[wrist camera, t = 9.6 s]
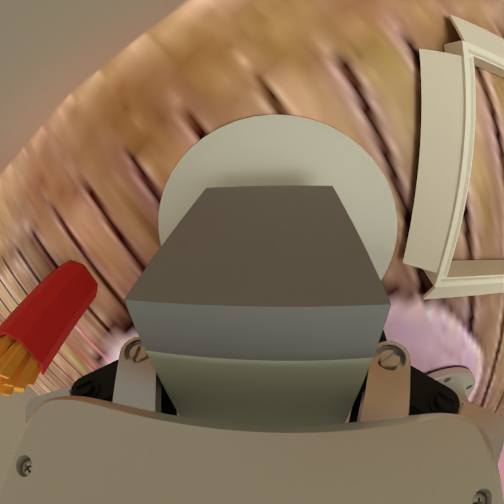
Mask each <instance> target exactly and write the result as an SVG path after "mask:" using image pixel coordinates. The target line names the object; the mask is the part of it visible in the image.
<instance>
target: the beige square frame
mask: <svg viewBox="0 0 504 504" xmlns="http://www.w3.org/2000/svg"><path fill="white" fill-rule="evenodd" d="M449 18H450V20H451V22H452V24H453V25H454V27H455V29H456V31H457V33H458V35H459V37H460V38H461V41H457V42H452V43H448V44H444V51H445V52H439V51H433V50H426V49H419V53H420V67H421V100H422V105H421V138H420V154H419V165H418V175H417V184H416V192H415V199H414V206H413V212H412V218H411V224H410V230H409V235H408V240H407V245H406V250H405V254H404V259H403V263H404V264H407V265H411V266H414V267H418V268H421V269H423V270H424V272H425V273H426V275H427V276H428V278H429V280H430V281H431V283H432V284H433V287H432V288H431V289H430V290H429V291H428V292H427V293H426V294H424V295H423V299H437V298H450V297H462V296H473V295H483V294H493V293H502V292H504V259H503V260H452V258H453V254H454V251H455V247H456V243H457V240H458V236H459V232H460V227H461V223H462V219H463V214H464V209H465V204H466V199H467V193H468V187H469V181H470V174H471V166H472V158H473V147H474V134H475V107H476V97H475V70H474V66H477V67H479V68H482V69H484V70H486V71H489V72H491V73H493V74H496V75H498V76H500V77H502V78H504V39H502V38H500V37H499V36H497V35H495V34H493V33H491V32H489V31H487V30H485V29H483V28H481V27H478V26H476V25H474V24H472V23H470V22H467V21H465V20H463V19H460V18H458V17H455V16H453V15H449Z"/></svg>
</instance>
